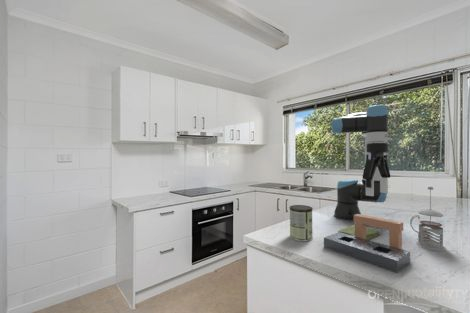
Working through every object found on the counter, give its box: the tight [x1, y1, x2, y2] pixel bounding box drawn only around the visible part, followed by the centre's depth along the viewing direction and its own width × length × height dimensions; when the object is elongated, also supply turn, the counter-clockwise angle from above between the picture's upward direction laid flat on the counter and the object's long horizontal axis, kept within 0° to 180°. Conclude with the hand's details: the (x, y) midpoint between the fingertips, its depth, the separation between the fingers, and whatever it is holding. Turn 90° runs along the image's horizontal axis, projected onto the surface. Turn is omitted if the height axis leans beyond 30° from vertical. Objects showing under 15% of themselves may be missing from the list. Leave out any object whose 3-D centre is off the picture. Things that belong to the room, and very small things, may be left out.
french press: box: [409, 186, 447, 252], centre depth 96 cm, size 10×12×25 cm
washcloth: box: [336, 223, 381, 240], centre depth 110 cm, size 13×18×3 cm
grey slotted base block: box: [323, 231, 411, 274], centre depth 87 cm, size 26×12×4 cm, turn 36°
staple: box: [353, 213, 404, 249], centre depth 94 cm, size 17×4×12 cm, turn 39°
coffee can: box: [289, 204, 314, 242], centre depth 106 cm, size 10×10×14 cm
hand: (377, 194), depth 94 cm, fingers open, 13 cm apart
